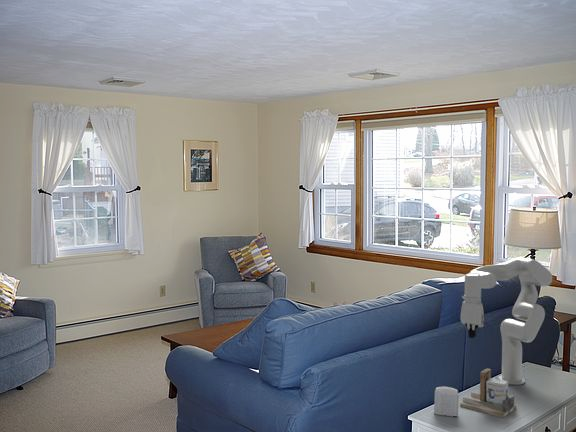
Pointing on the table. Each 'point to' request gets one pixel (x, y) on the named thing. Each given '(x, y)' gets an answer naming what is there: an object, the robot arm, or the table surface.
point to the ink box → (496, 391)
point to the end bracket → (484, 383)
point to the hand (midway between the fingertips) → (472, 337)
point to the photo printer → (446, 401)
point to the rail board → (488, 405)
